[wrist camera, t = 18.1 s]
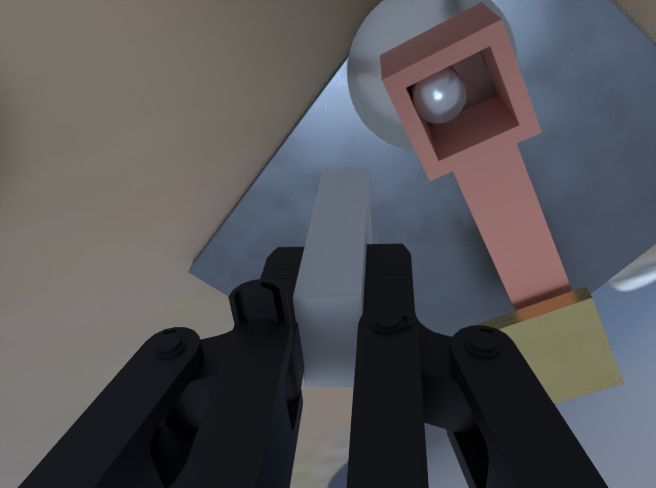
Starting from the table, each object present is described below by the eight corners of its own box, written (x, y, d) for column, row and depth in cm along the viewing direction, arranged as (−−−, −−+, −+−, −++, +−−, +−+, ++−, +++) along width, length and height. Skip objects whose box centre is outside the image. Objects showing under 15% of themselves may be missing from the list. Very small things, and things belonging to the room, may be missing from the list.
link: (581, 279, 35) (610, 329, 31) (498, 308, 37) (514, 359, 33) (481, 2, 27) (502, 19, 23) (379, 55, 29) (381, 80, 25)
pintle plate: (471, -131, 25) (476, -133, 24) (755, 149, 31) (769, 157, 30) (186, 258, 38) (181, 268, 37) (427, 405, 44) (429, 418, 43)
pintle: (428, 40, 28) (438, 61, 24) (462, 68, 29) (477, 93, 25) (398, 76, 29) (403, 102, 25) (431, 103, 30) (441, 133, 26)
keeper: (459, 257, 37) (480, 335, 30) (549, 222, 35) (592, 297, 28) (494, 327, 39) (519, 413, 33) (577, 298, 38) (623, 383, 31)
